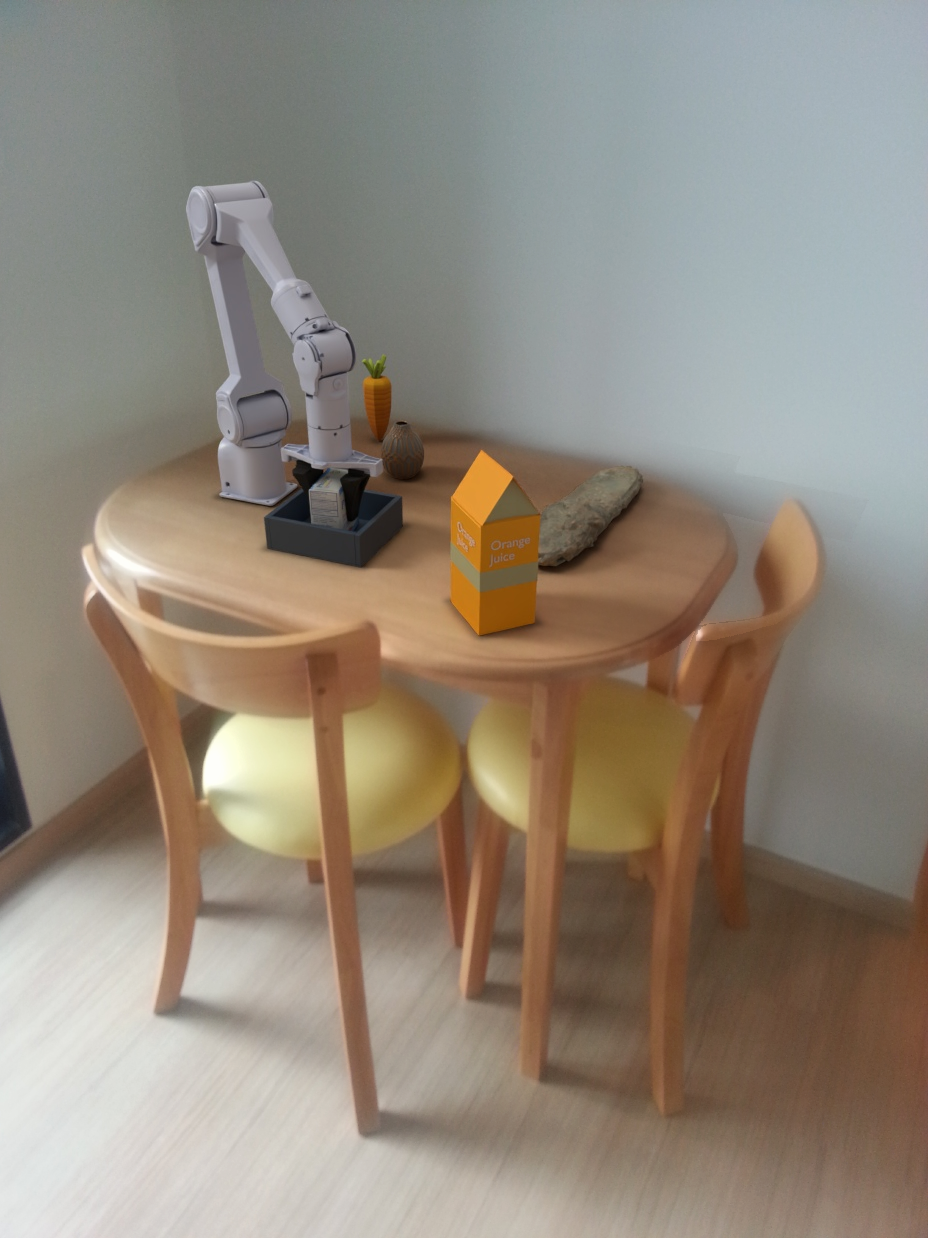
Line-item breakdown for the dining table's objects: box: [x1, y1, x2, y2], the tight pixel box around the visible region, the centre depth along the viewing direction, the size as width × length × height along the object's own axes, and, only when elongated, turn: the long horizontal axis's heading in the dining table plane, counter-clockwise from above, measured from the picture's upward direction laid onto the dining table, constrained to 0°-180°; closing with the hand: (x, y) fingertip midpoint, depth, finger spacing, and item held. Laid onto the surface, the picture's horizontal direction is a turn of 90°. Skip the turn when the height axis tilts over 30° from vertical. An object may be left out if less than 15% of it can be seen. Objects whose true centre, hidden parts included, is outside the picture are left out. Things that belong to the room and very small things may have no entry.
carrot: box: [361, 354, 392, 442], centre depth 165 cm, size 5×5×15 cm
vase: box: [380, 419, 425, 480], centre depth 154 cm, size 7×7×9 cm
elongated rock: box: [538, 465, 644, 567], centre depth 141 cm, size 35×5×10 cm
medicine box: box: [309, 468, 359, 532], centre depth 134 cm, size 8×4×9 cm, turn 168°
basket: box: [263, 488, 404, 568], centre depth 136 cm, size 15×14×5 cm
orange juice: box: [449, 448, 541, 636], centre depth 115 cm, size 8×9×20 cm
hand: (335, 515), depth 135 cm, fingers closed on medicine box, 5 cm apart
